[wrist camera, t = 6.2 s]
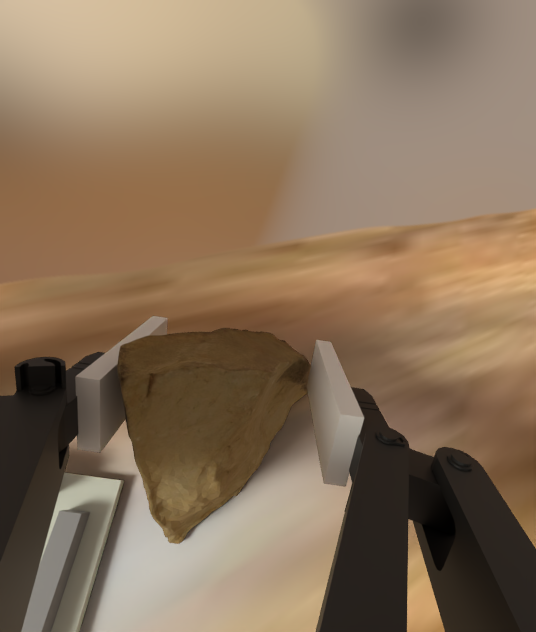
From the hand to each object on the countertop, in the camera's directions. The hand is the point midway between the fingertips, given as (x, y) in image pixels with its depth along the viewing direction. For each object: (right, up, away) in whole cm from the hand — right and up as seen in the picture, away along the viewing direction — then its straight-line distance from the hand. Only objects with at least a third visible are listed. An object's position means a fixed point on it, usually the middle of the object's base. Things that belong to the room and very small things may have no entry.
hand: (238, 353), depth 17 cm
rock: (0, -5, +2) cm, 5 cm away
